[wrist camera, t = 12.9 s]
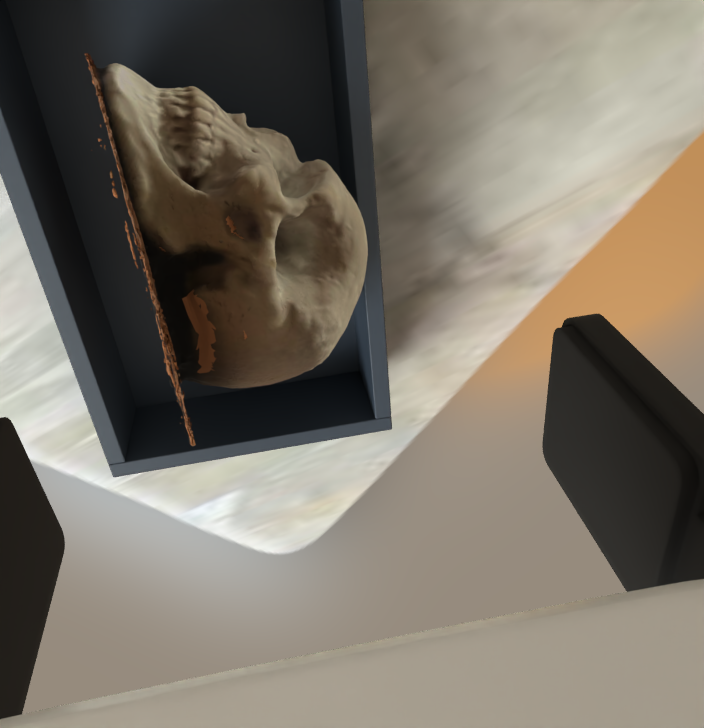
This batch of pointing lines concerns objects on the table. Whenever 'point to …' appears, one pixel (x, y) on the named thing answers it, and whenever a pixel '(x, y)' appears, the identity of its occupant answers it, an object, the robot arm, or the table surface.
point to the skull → (231, 236)
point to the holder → (108, 215)
